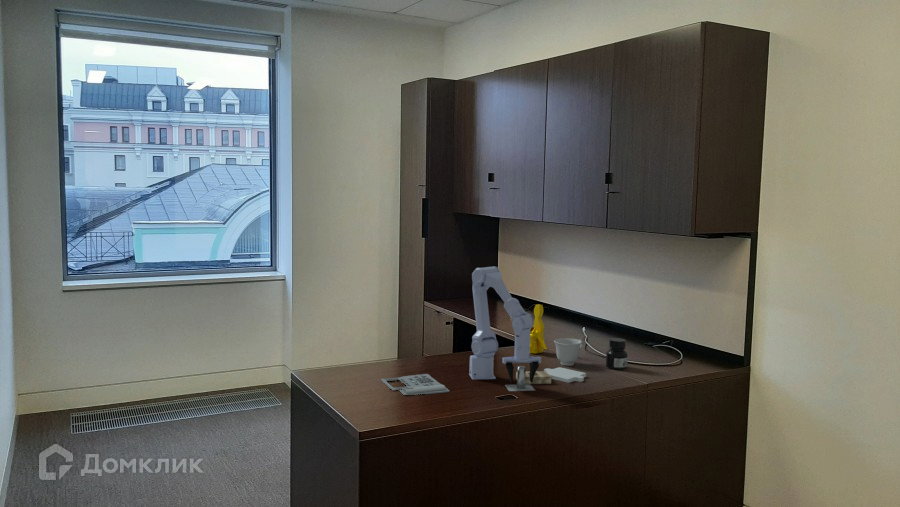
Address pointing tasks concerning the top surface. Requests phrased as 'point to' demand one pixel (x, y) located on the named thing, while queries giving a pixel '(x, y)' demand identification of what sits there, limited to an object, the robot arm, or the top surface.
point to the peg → (521, 377)
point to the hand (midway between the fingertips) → (521, 381)
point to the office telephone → (417, 385)
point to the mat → (514, 388)
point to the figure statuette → (537, 332)
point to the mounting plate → (565, 374)
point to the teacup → (568, 350)
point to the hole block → (537, 378)
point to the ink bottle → (617, 354)
